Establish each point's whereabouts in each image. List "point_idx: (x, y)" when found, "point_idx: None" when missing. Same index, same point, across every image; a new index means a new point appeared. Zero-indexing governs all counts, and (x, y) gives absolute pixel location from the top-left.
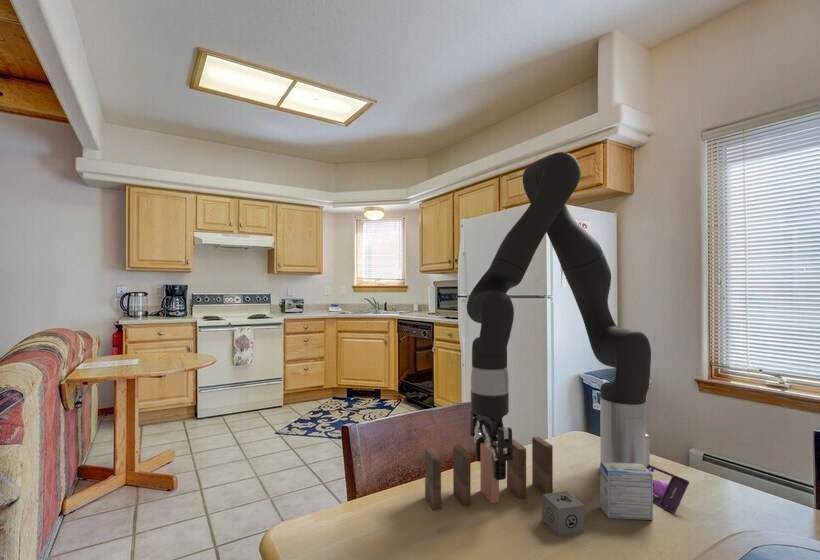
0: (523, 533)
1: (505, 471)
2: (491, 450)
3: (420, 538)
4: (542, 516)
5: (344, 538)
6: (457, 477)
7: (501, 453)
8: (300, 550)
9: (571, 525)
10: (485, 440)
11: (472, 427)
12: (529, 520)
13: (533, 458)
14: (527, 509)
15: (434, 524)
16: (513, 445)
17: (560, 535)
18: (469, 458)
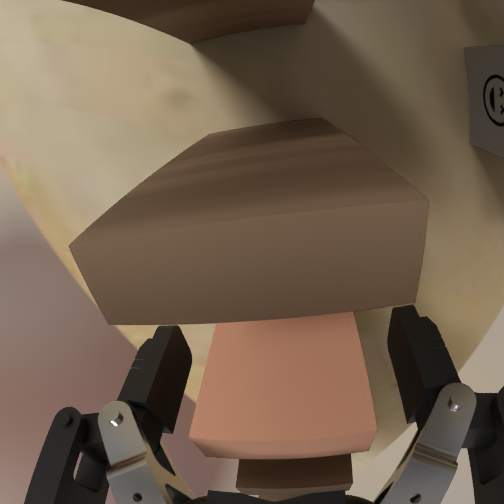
0: (490, 231)
1: (442, 341)
2: (341, 449)
3: (402, 403)
4: (478, 146)
5: (356, 453)
6: None
7: (501, 455)
8: (359, 467)
9: None
10: (134, 416)
11: (106, 490)
12: (455, 182)
13: (145, 13)
14: (399, 153)
15: (375, 390)
16: (270, 317)
17: None
18: (350, 470)
